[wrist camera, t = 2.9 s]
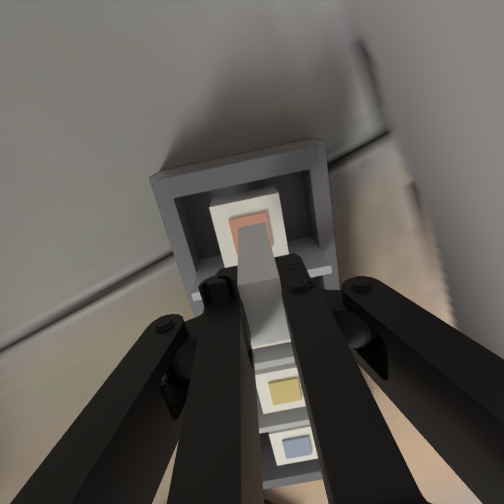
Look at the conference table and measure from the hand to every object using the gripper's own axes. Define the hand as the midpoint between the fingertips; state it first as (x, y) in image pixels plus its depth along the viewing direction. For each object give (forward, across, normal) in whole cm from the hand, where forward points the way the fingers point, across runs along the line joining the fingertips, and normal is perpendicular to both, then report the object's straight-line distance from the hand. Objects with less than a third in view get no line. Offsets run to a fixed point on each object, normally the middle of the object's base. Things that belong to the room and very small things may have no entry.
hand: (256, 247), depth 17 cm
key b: (+5, 0, -21) cm, 22 cm away
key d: (+5, 0, -14) cm, 15 cm away
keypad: (+8, 0, -11) cm, 13 cm away
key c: (+5, 0, 0) cm, 5 cm away
